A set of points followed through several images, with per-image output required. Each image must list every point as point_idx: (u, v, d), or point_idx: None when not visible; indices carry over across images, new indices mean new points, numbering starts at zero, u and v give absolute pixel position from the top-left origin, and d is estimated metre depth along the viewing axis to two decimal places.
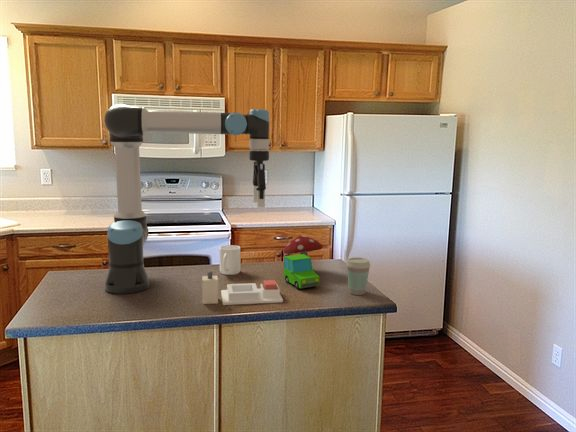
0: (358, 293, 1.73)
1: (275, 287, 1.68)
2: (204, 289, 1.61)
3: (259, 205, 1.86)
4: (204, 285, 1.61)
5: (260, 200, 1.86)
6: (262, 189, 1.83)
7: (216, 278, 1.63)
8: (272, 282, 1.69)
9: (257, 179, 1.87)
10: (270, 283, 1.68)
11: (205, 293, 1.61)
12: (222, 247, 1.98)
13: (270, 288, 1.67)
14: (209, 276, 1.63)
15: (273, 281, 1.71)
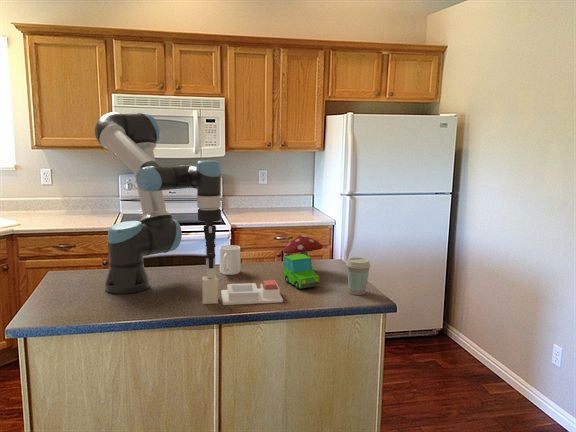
0: (358, 293, 1.73)
1: (275, 287, 1.68)
2: (204, 289, 1.61)
3: (209, 275, 1.56)
4: (204, 285, 1.61)
5: (210, 269, 1.55)
6: (211, 257, 1.53)
7: (216, 278, 1.63)
8: (272, 282, 1.69)
9: None
10: (270, 283, 1.68)
11: (205, 293, 1.61)
12: (222, 247, 1.98)
13: (270, 288, 1.67)
14: None
15: (273, 281, 1.71)
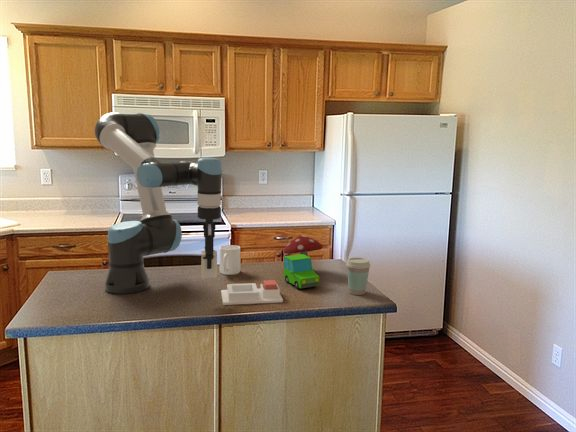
0: (358, 293, 1.73)
1: (275, 287, 1.68)
2: (203, 263, 1.60)
3: (207, 275, 1.60)
4: (203, 259, 1.60)
5: (208, 270, 1.60)
6: (209, 258, 1.57)
7: (215, 253, 1.62)
8: (272, 282, 1.69)
9: None
10: (270, 283, 1.68)
11: (204, 267, 1.60)
12: (222, 247, 1.98)
13: (270, 288, 1.67)
14: None
15: (273, 281, 1.71)
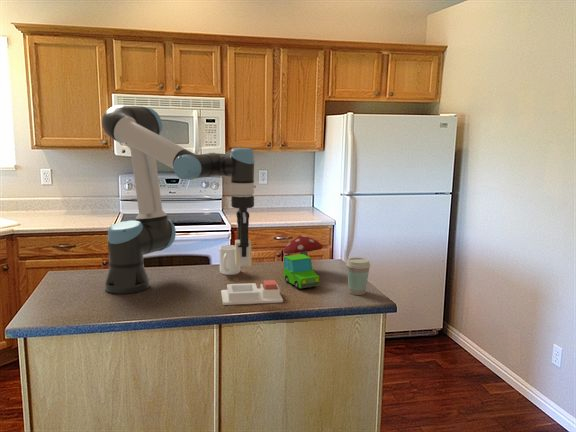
0: (358, 293, 1.73)
1: (275, 287, 1.68)
2: (238, 252, 1.63)
3: (241, 263, 1.63)
4: (238, 248, 1.63)
5: (242, 258, 1.63)
6: (244, 246, 1.60)
7: (249, 241, 1.65)
8: (272, 282, 1.69)
9: (239, 232, 1.62)
10: (270, 283, 1.68)
11: (239, 256, 1.63)
12: (222, 247, 1.98)
13: (270, 288, 1.67)
14: None
15: (273, 281, 1.71)
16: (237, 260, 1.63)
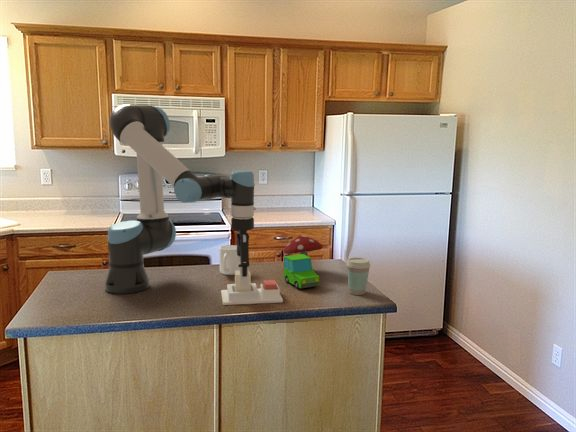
0: (358, 293, 1.73)
1: (275, 287, 1.68)
2: (237, 283, 1.65)
3: (242, 283, 1.61)
4: (237, 279, 1.65)
5: (243, 277, 1.61)
6: (245, 266, 1.58)
7: (249, 273, 1.67)
8: (272, 282, 1.69)
9: (240, 252, 1.61)
10: (270, 283, 1.68)
11: (238, 287, 1.65)
12: (222, 247, 1.98)
13: (270, 288, 1.67)
14: None
15: (273, 281, 1.71)
16: (236, 291, 1.65)
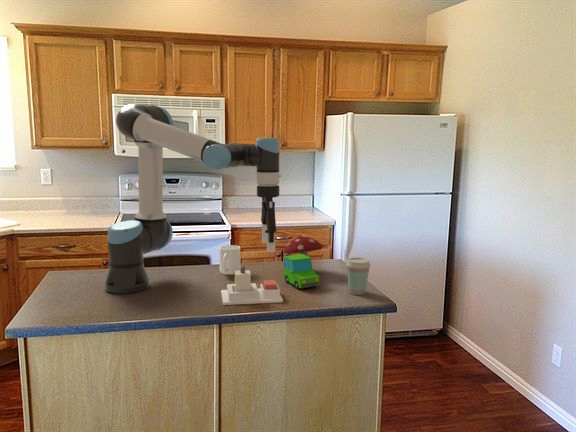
0: (358, 293, 1.73)
1: (275, 287, 1.68)
2: (237, 283, 1.65)
3: (269, 249, 1.60)
4: (237, 279, 1.65)
5: (270, 244, 1.59)
6: (272, 231, 1.57)
7: (249, 273, 1.67)
8: (272, 282, 1.69)
9: (266, 219, 1.60)
10: (270, 283, 1.68)
11: (238, 287, 1.65)
12: (222, 247, 1.98)
13: (270, 288, 1.67)
14: (242, 271, 1.66)
15: (273, 281, 1.71)
16: (236, 291, 1.65)
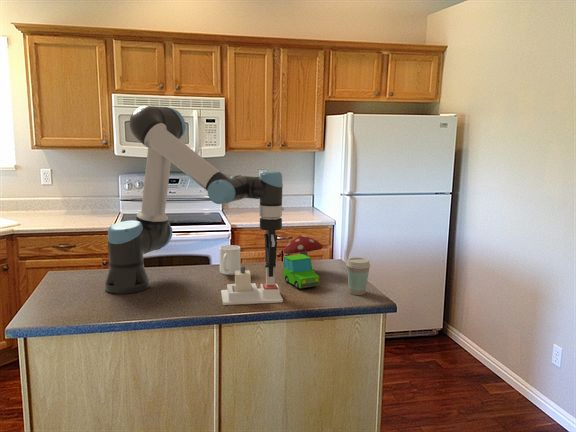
0: (358, 293, 1.73)
1: None
2: (237, 283, 1.65)
3: (268, 283, 1.69)
4: (237, 279, 1.65)
5: (269, 277, 1.68)
6: (272, 267, 1.66)
7: (249, 273, 1.67)
8: (272, 285, 1.69)
9: (267, 253, 1.66)
10: (270, 286, 1.68)
11: (238, 287, 1.65)
12: (222, 247, 1.98)
13: None
14: (242, 271, 1.66)
15: None
16: (236, 291, 1.65)
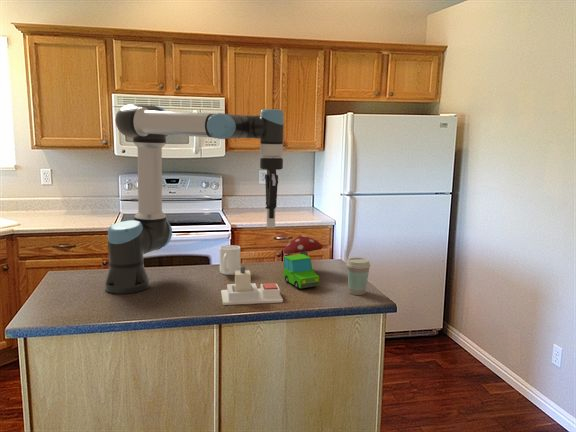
0: (358, 293, 1.73)
1: None
2: (237, 283, 1.65)
3: (269, 225, 1.65)
4: (237, 279, 1.65)
5: (270, 219, 1.65)
6: (272, 207, 1.62)
7: (249, 273, 1.67)
8: (272, 285, 1.69)
9: (268, 194, 1.63)
10: (270, 287, 1.68)
11: (238, 287, 1.65)
12: (222, 247, 1.98)
13: None
14: (242, 271, 1.66)
15: (273, 284, 1.71)
16: (236, 291, 1.65)
